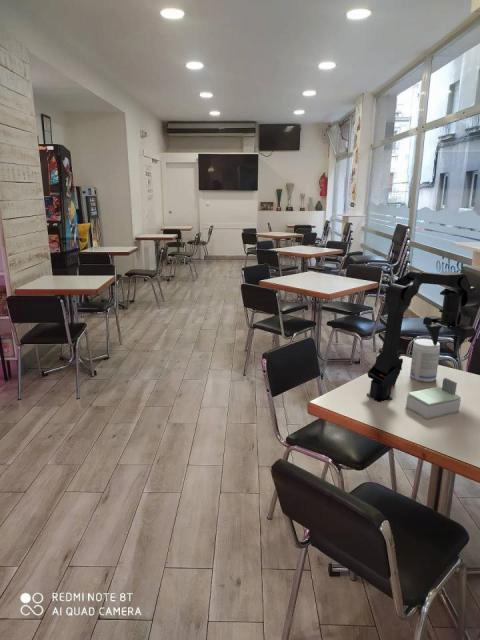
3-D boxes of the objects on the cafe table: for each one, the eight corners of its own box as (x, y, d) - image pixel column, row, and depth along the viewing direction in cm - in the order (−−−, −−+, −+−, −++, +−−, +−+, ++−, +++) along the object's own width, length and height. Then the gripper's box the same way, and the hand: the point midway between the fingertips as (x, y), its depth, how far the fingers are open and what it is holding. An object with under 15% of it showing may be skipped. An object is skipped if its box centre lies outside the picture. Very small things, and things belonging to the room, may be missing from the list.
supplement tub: (439, 378, 172) (445, 342, 168) (429, 384, 166) (434, 348, 162) (415, 371, 179) (420, 336, 175) (404, 377, 173) (409, 341, 169)
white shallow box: (426, 419, 139) (428, 406, 138) (405, 407, 147) (407, 395, 146) (458, 412, 145) (460, 399, 144) (436, 400, 153) (438, 388, 151)
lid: (428, 405, 138) (430, 392, 137) (407, 394, 146) (409, 381, 145) (460, 398, 144) (462, 385, 142) (439, 388, 151) (440, 375, 150)
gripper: (490, 311, 152) (483, 354, 156) (446, 300, 169) (441, 338, 173) (467, 314, 148) (460, 357, 152) (424, 302, 164) (419, 342, 169)
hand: (445, 348), depth 162 cm, fingers open, 9 cm apart
